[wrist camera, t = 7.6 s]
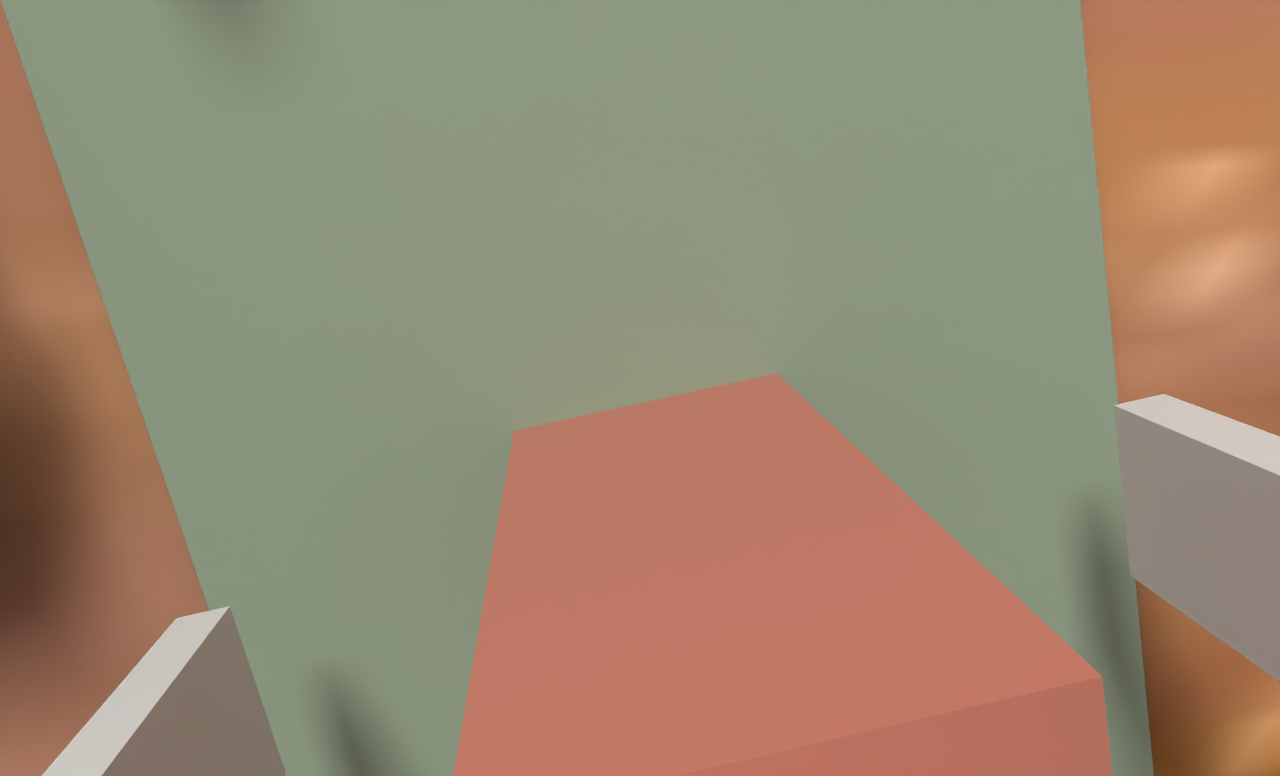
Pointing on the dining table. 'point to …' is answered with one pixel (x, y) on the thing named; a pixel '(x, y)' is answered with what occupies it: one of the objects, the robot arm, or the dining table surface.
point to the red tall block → (751, 612)
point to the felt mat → (580, 293)
